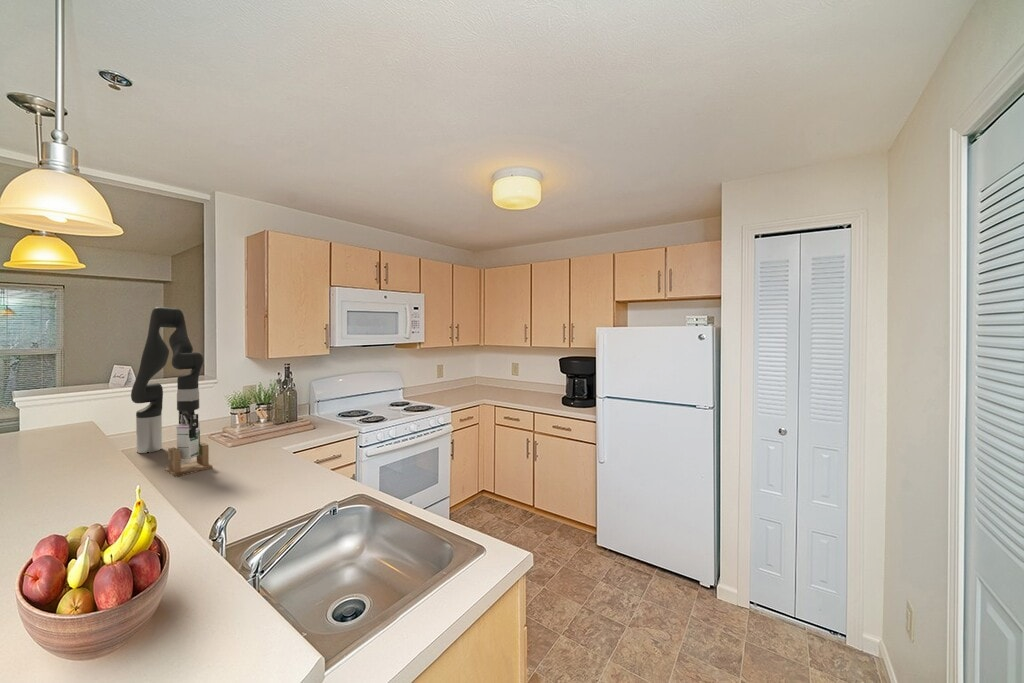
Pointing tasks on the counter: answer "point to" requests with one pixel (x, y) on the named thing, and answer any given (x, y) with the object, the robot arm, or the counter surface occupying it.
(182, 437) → the syrup box
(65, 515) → the counter surface
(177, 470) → the slot block
